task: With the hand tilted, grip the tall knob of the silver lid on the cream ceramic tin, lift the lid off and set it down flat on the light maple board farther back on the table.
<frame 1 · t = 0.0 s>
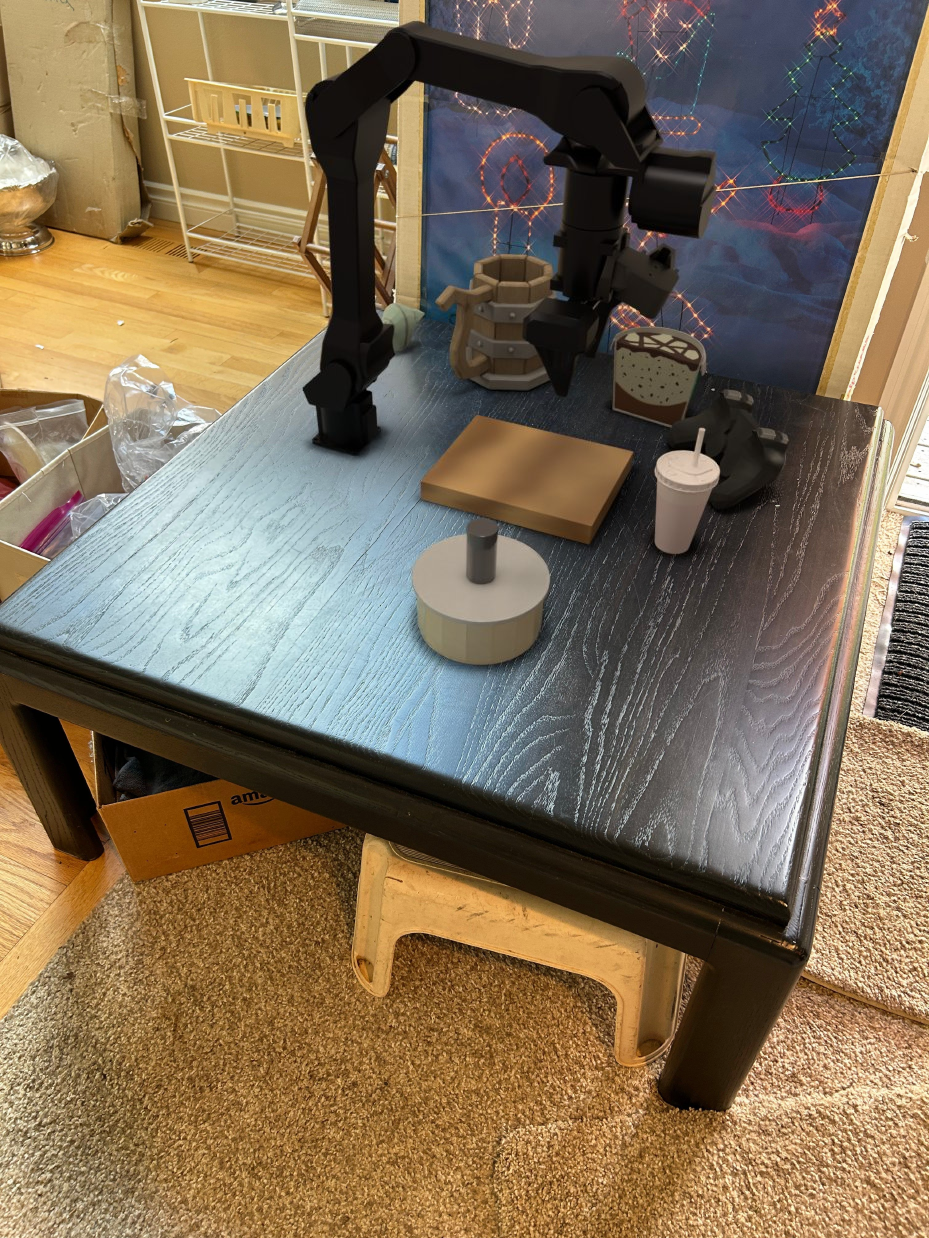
hand: (576, 376, 94), 15 cm above the table, tool pointing down, fingers open, 9 cm apart
smoothie: (671, 544, 97), on the table
tin: (479, 621, 87), on the table
lid: (480, 578, 84), point 5 cm above the table, touching tin
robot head: (398, 351, 129), on the table
tankard: (489, 378, 124), on the table
game controller: (721, 473, 107), on the table
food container: (654, 411, 118), on the table
board: (528, 484, 105), on the table
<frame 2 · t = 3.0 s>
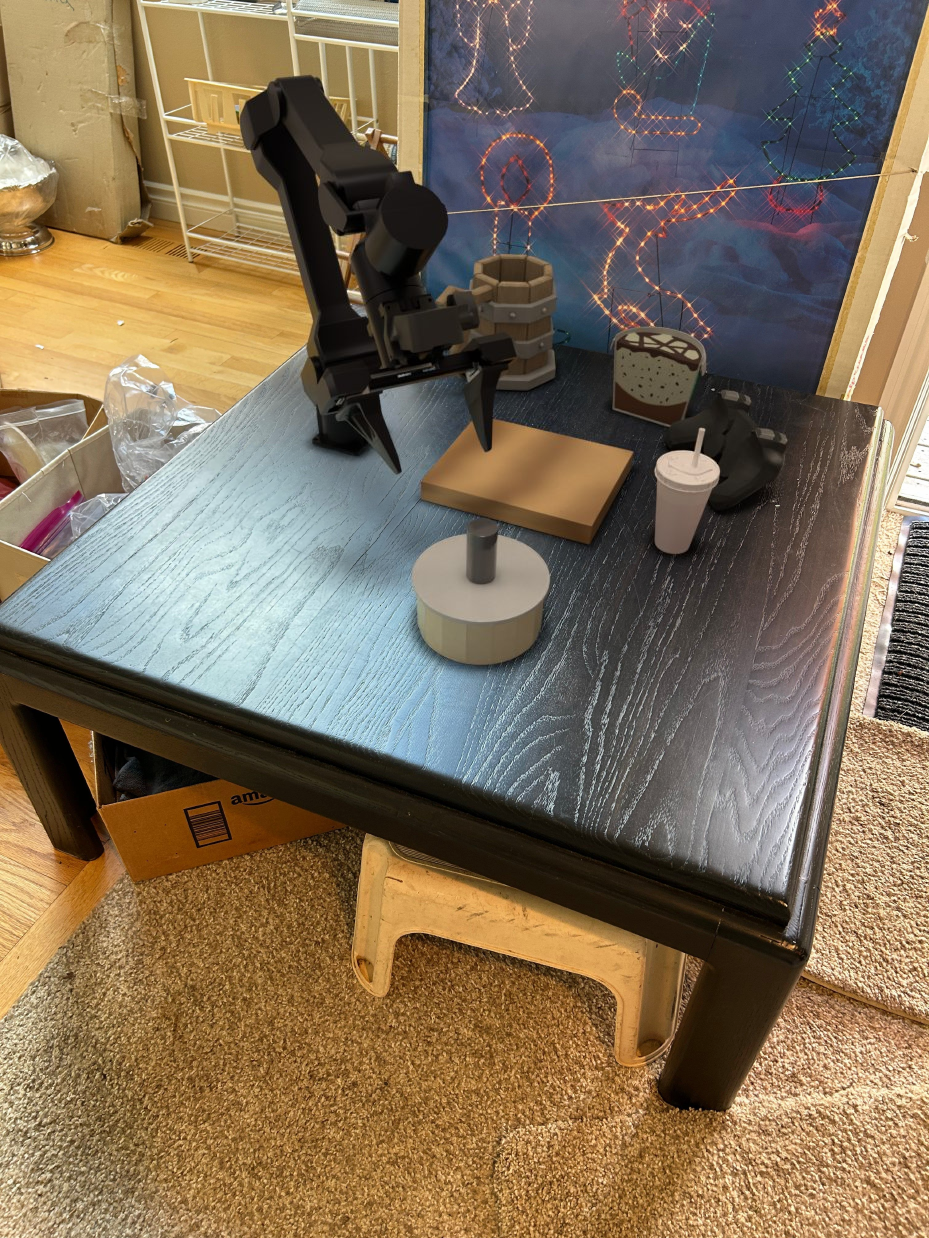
hand: (444, 462, 84), 13 cm above the table, tool tilted 45°, fingers open, 9 cm apart
nothing on the table moved.
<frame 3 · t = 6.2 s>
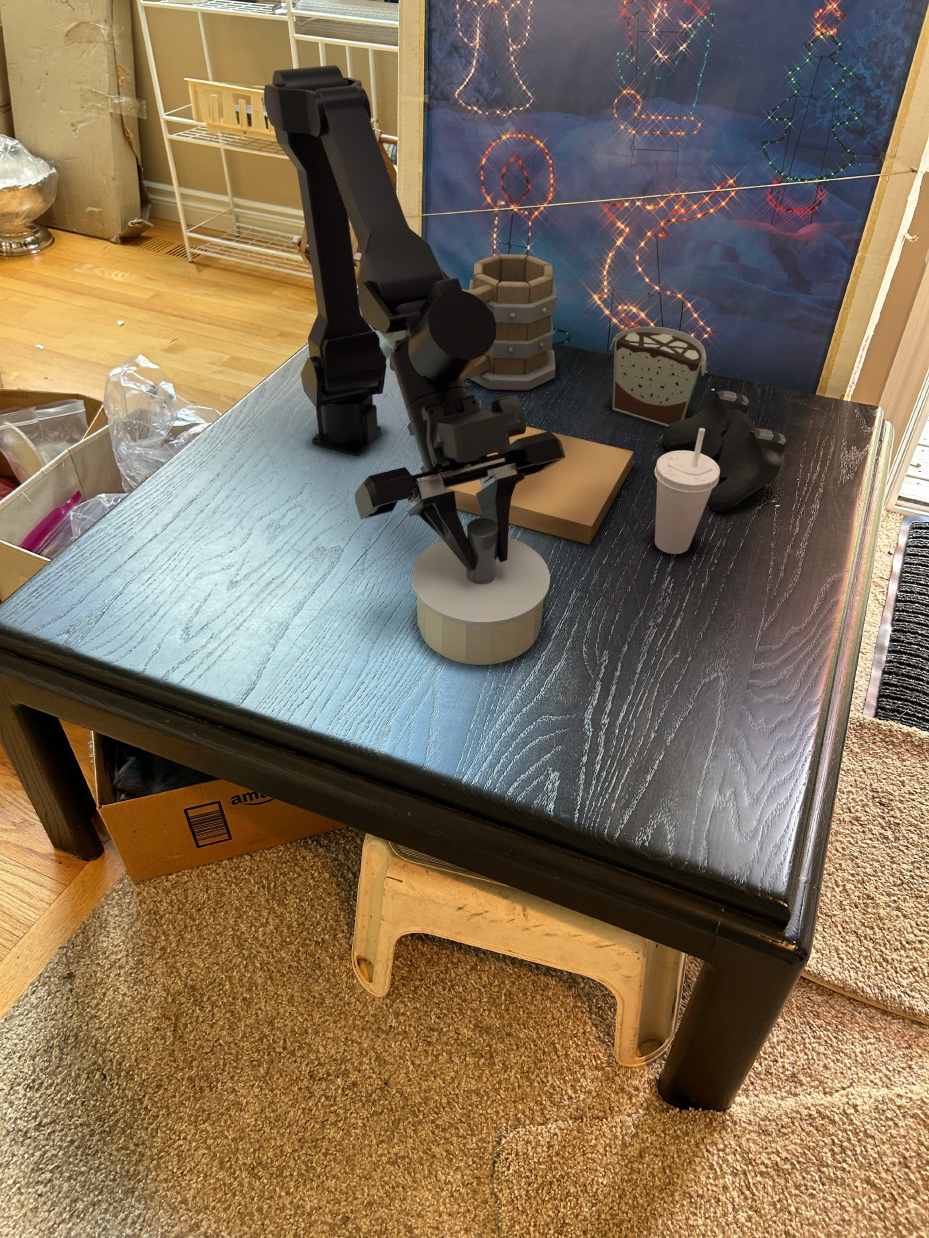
hand: (488, 566, 81), 8 cm above the table, tool tilted 45°, fingers closed on lid, 3 cm apart
lid: (480, 578, 84), point 5 cm above the table, touching gripper, tin
everything else where it was.
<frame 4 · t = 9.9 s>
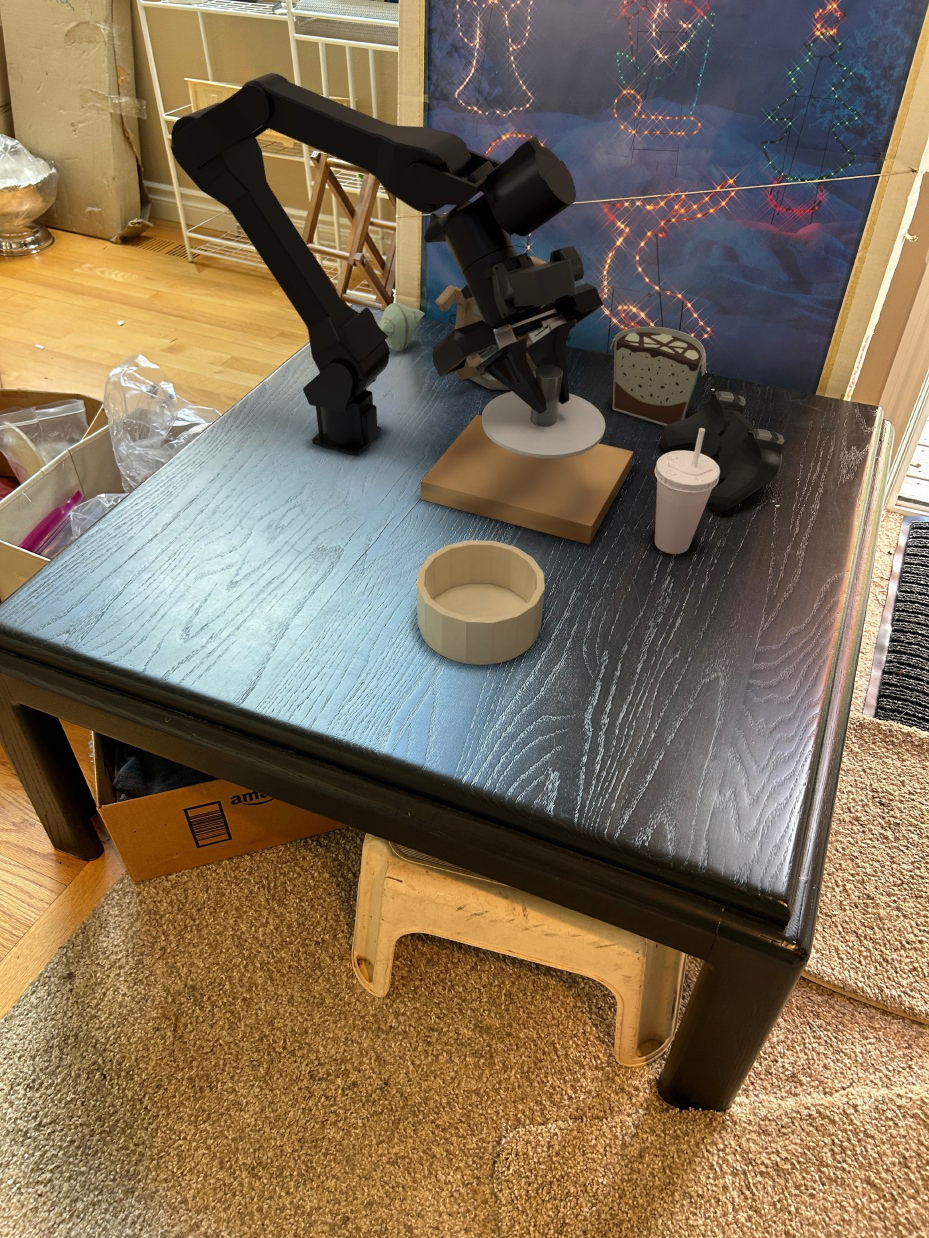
hand: (554, 407, 91), 14 cm above the table, tool tilted 45°, fingers closed on lid, 3 cm apart
lid: (543, 424, 93), point 11 cm above the table, touching gripper
everything else where it was.
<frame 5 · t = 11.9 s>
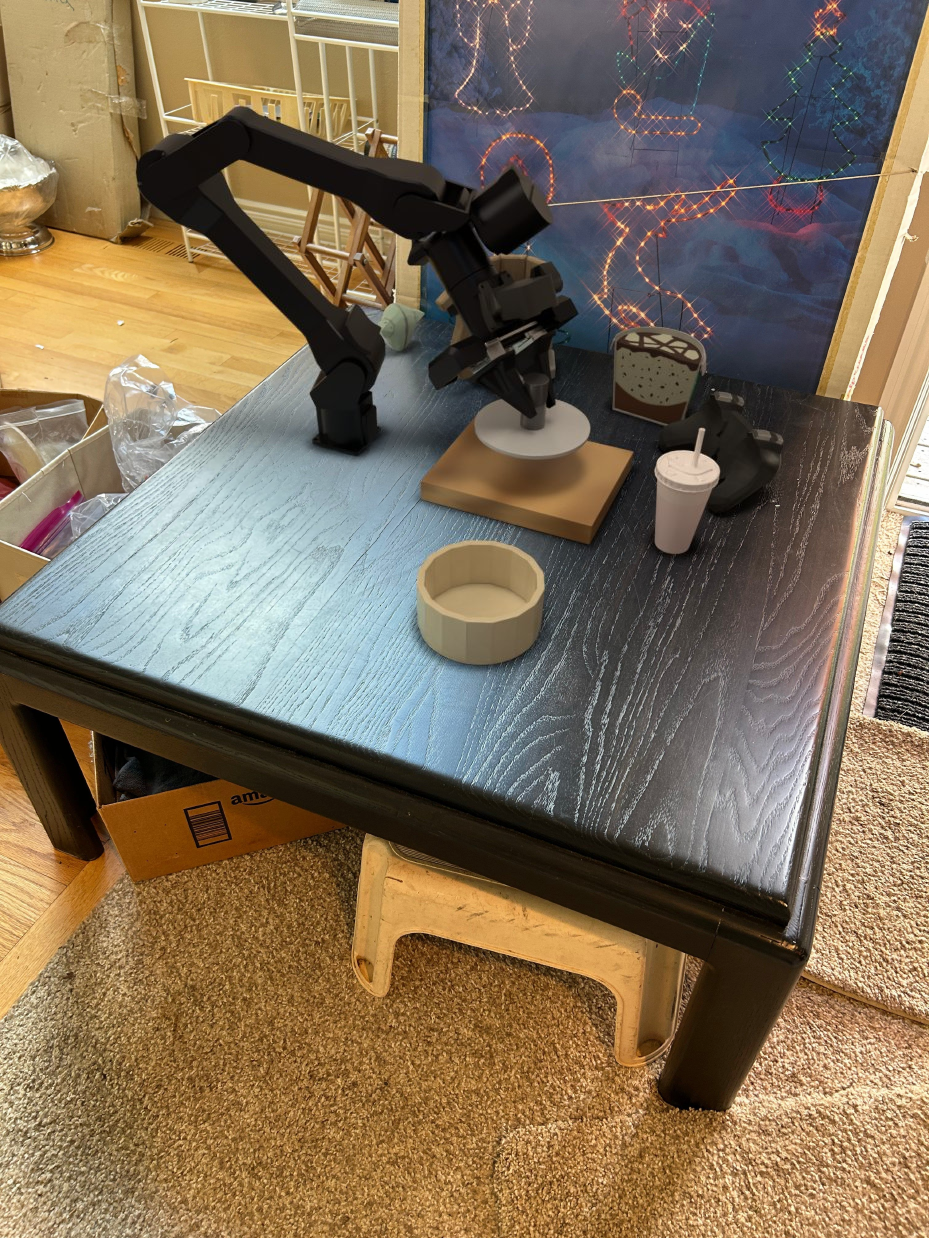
hand: (543, 412, 97), 10 cm above the table, tool tilted 45°, fingers closed on lid, 3 cm apart
lid: (532, 428, 100), point 7 cm above the table, touching gripper
everything else where it was.
when the fingers open (6 cm above the table, at t = 13.4 s): lid stays where it is, resting on board.
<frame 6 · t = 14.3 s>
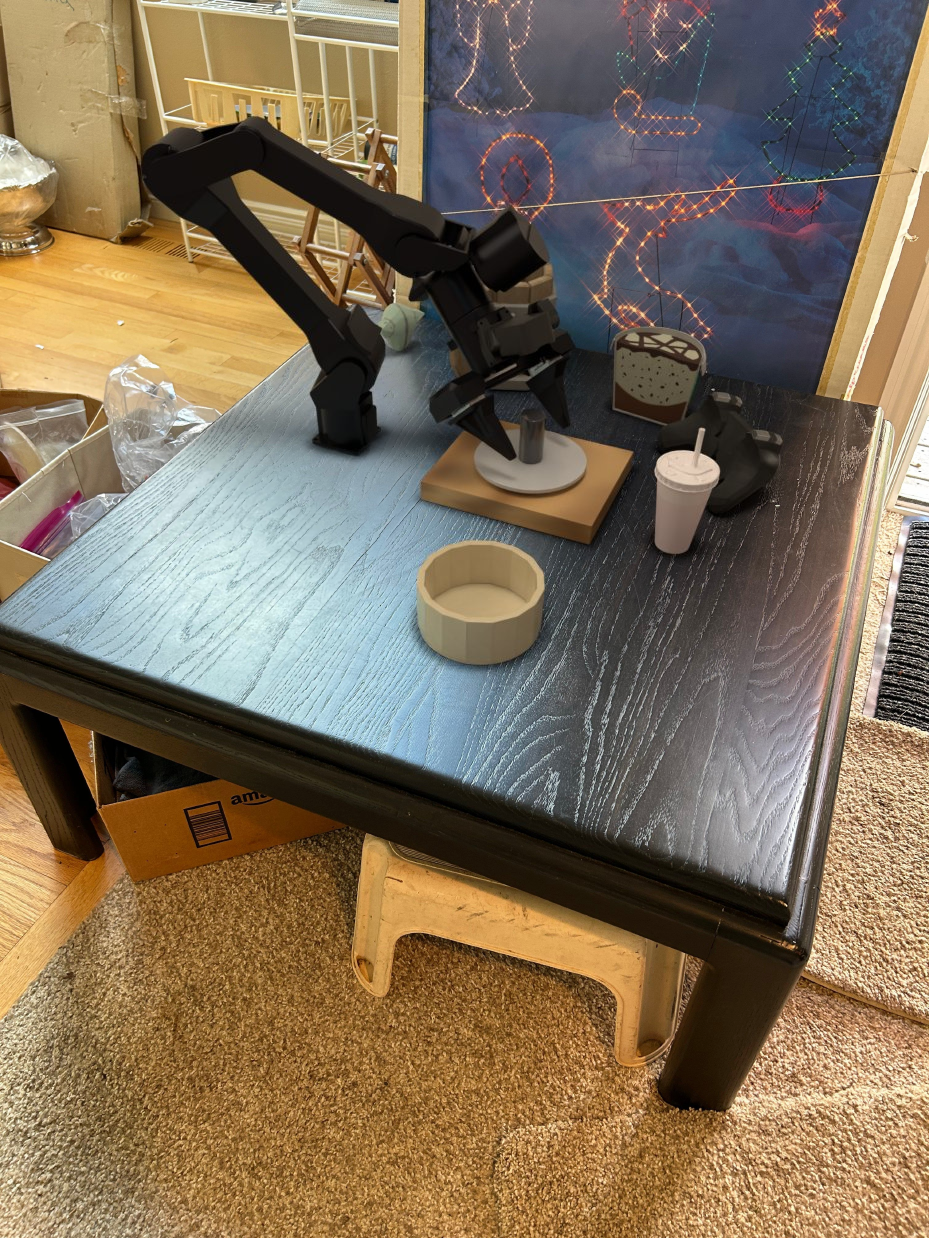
hand: (541, 443, 100), 6 cm above the table, tool tilted 45°, fingers open, 9 cm apart
lid: (530, 461, 103), point 3 cm above the table, touching board
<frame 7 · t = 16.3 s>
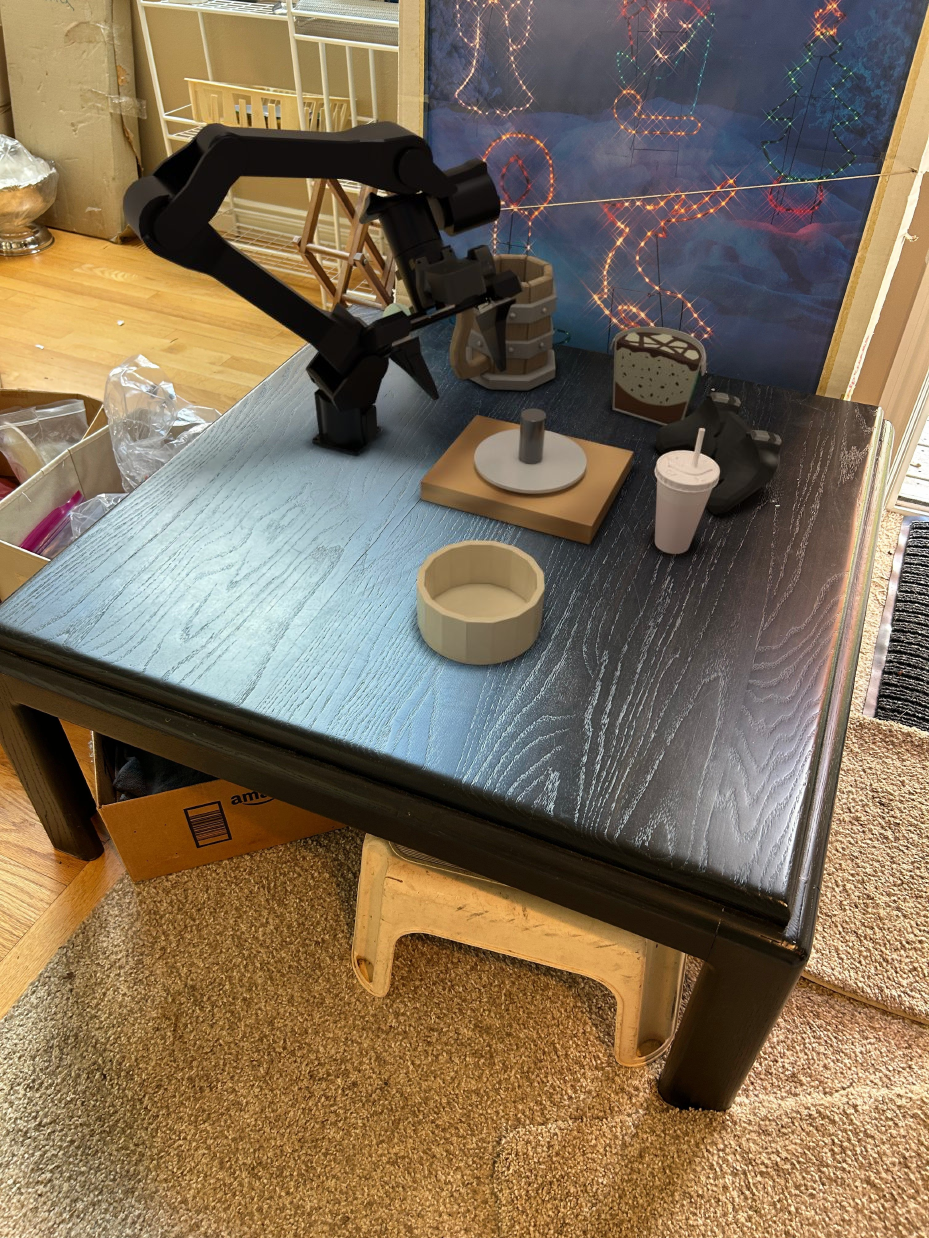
hand: (470, 385, 103), 9 cm above the table, tool tilted 35°, fingers open, 9 cm apart
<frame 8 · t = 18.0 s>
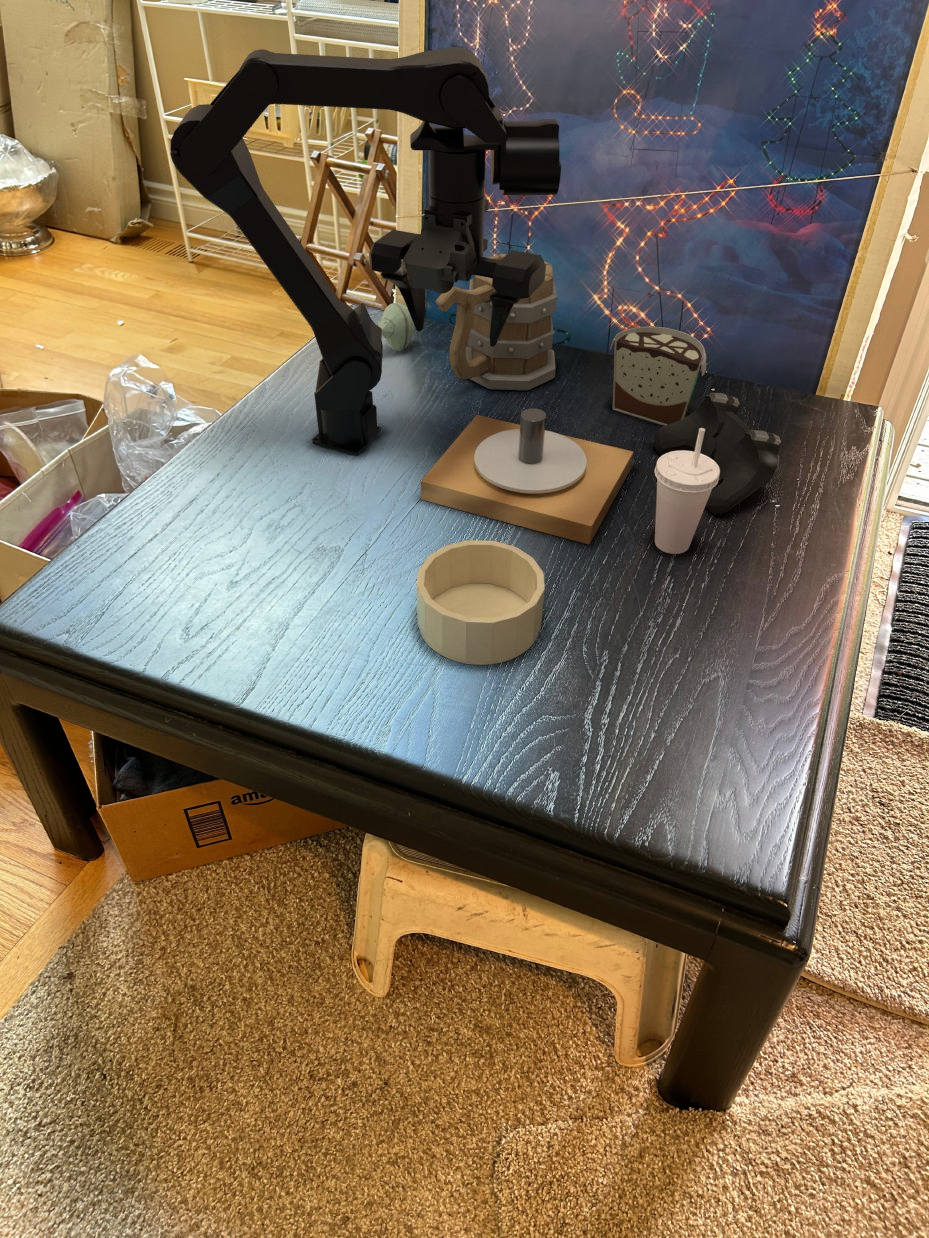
hand: (456, 337, 103), 13 cm above the table, tool pointing down, fingers open, 9 cm apart
at the end: lid inside the target area on the board (0.0 cm from its centre), point 3.1 cm above the board's base; lid tilted 0° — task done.
